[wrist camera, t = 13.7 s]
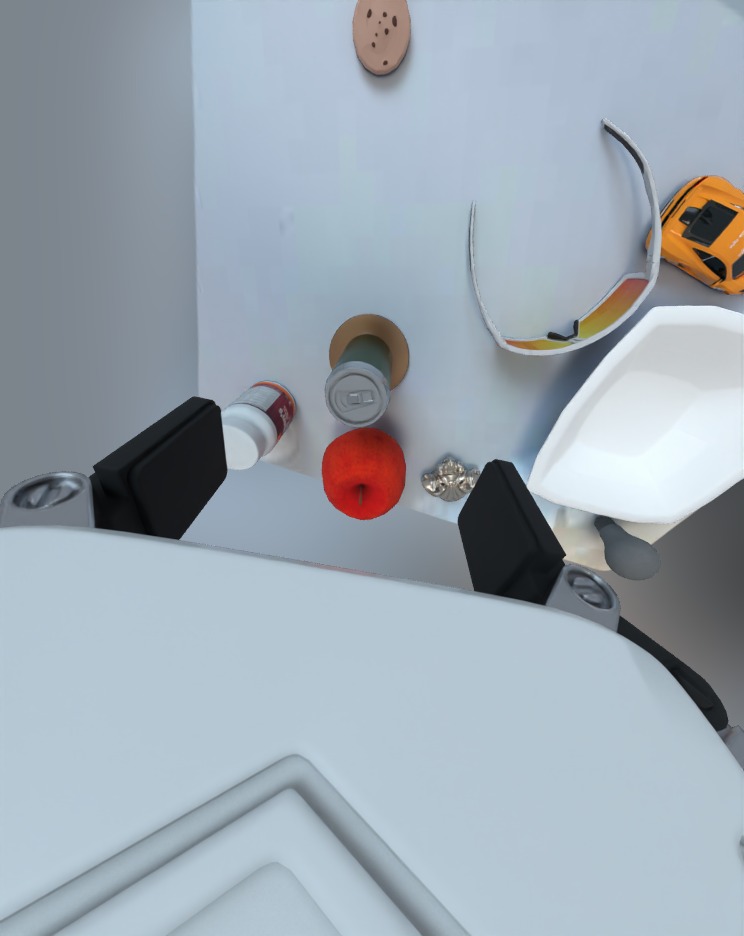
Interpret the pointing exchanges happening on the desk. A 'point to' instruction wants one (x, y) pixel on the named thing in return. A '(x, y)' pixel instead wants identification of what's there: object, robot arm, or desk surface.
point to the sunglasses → (615, 303)
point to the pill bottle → (256, 423)
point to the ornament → (450, 480)
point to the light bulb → (627, 552)
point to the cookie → (381, 33)
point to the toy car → (706, 233)
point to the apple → (364, 473)
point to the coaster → (377, 328)
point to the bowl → (653, 421)
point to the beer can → (360, 382)
